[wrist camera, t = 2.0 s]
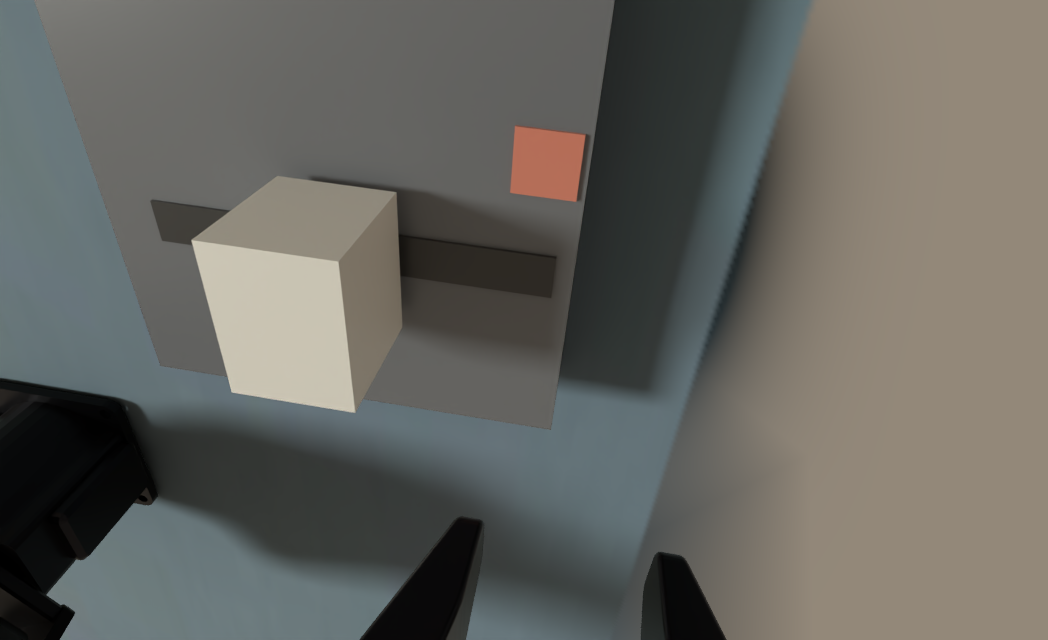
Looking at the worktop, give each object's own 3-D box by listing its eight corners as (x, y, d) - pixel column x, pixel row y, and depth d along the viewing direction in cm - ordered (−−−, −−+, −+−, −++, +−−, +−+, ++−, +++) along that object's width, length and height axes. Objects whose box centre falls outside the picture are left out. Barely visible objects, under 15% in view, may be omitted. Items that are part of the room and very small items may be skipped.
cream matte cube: (299, 311, 17) (231, 392, 14) (277, 175, 15) (191, 240, 12) (402, 327, 17) (355, 412, 14) (396, 191, 14) (338, 261, 12)
